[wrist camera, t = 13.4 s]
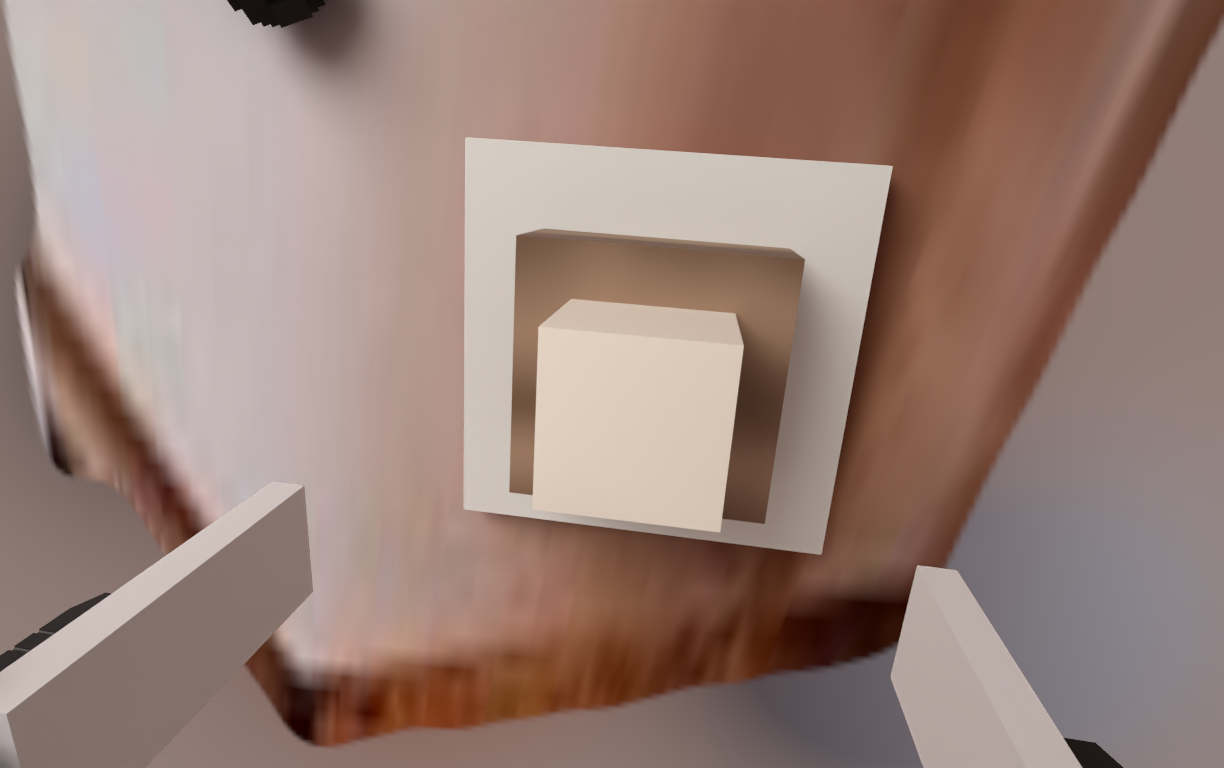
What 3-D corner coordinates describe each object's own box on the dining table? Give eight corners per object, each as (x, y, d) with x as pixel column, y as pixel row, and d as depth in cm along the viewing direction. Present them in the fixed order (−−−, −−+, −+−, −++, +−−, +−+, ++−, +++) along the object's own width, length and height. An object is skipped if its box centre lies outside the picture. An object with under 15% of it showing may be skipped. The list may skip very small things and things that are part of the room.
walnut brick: (543, 228, 33) (516, 235, 28) (789, 248, 32) (805, 259, 27) (534, 452, 36) (509, 492, 32) (756, 478, 35) (764, 524, 30)
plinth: (478, 140, 34) (465, 137, 32) (881, 167, 32) (892, 166, 30) (475, 493, 40) (463, 509, 38) (815, 536, 38) (821, 554, 36)
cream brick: (571, 298, 29) (538, 326, 23) (735, 313, 28) (743, 345, 22) (563, 449, 31) (532, 509, 25) (716, 466, 30) (720, 532, 24)
